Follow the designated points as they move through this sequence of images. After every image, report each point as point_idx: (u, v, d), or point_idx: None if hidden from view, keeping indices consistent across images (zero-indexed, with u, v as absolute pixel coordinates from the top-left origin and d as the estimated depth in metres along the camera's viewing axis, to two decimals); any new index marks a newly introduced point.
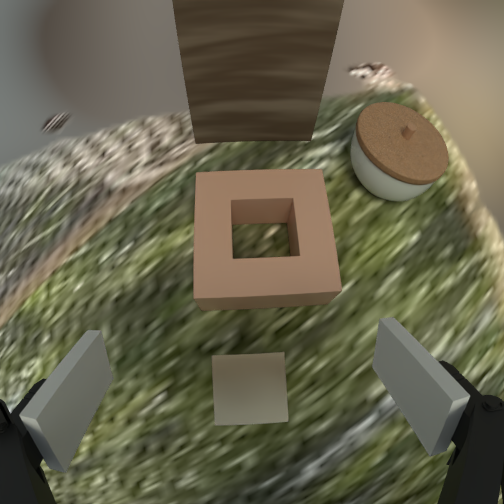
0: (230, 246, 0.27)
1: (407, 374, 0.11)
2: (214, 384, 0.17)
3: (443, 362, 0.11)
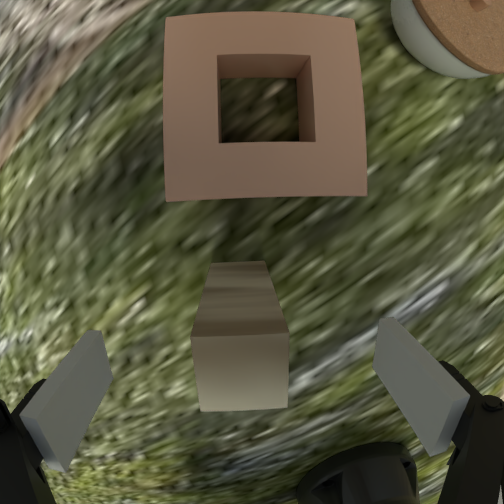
0: (215, 124, 0.18)
1: (407, 374, 0.11)
2: (196, 370, 0.13)
3: (443, 362, 0.11)
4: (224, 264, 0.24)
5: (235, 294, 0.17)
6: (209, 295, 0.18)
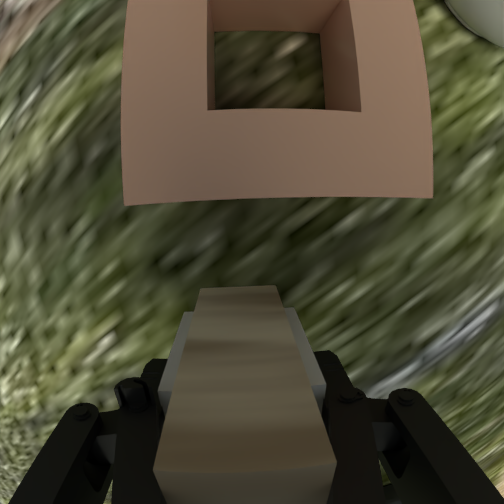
0: (203, 81, 0.10)
1: None
2: None
3: (328, 352, 0.13)
4: (219, 291, 0.17)
5: (235, 359, 0.10)
6: (192, 358, 0.10)
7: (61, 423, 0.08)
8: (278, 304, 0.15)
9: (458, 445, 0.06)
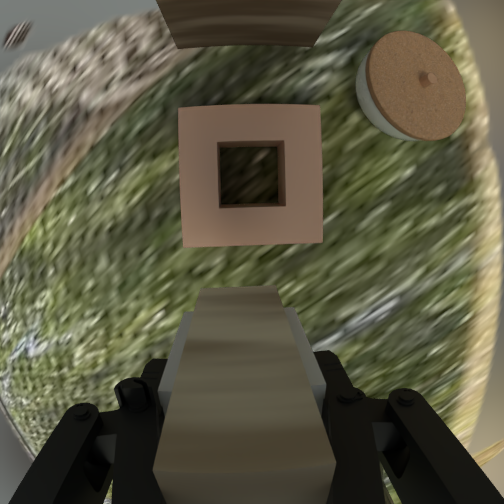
0: (216, 195, 0.27)
1: None
2: None
3: (328, 352, 0.13)
4: (219, 291, 0.17)
5: (235, 359, 0.10)
6: (192, 359, 0.10)
7: (61, 423, 0.08)
8: (278, 304, 0.15)
9: (458, 445, 0.06)
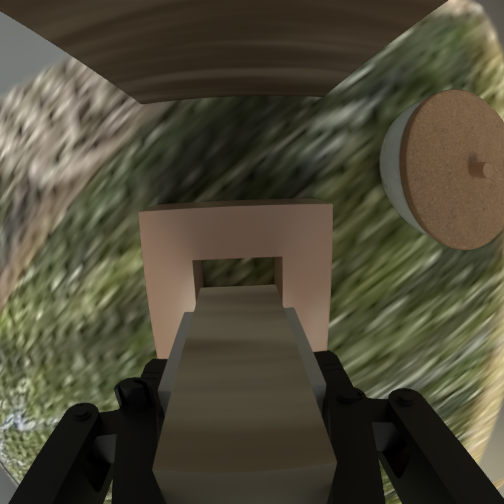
0: None
1: None
2: None
3: (328, 352, 0.13)
4: (219, 291, 0.17)
5: (234, 358, 0.10)
6: (192, 357, 0.10)
7: (61, 423, 0.08)
8: (278, 303, 0.15)
9: (458, 445, 0.06)
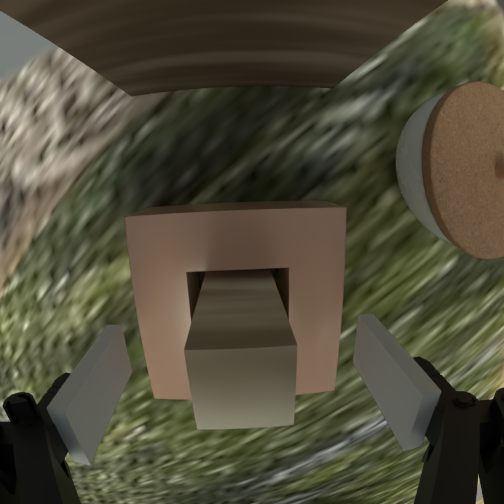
0: None
1: (382, 369, 0.12)
2: (191, 386, 0.11)
3: (420, 358, 0.11)
4: None
5: (235, 298, 0.16)
6: (206, 298, 0.16)
7: None
8: (267, 269, 0.20)
9: None
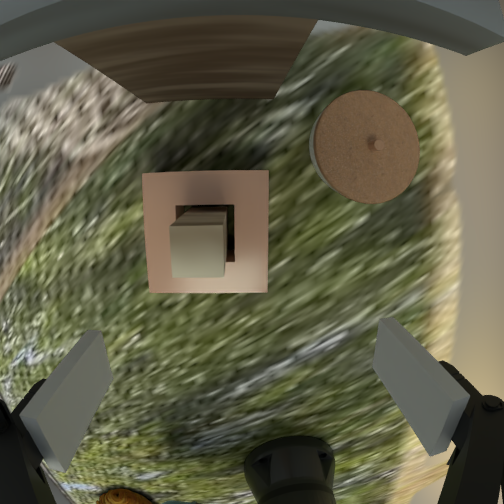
0: None
1: (407, 374, 0.11)
2: (171, 247, 0.24)
3: (443, 362, 0.11)
4: (199, 207, 0.35)
5: (200, 216, 0.28)
6: (184, 216, 0.28)
7: None
8: (224, 209, 0.33)
9: None
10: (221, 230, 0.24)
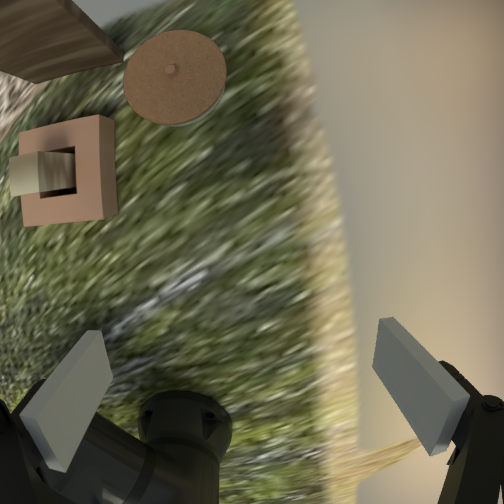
0: None
1: (407, 374, 0.11)
2: (10, 173, 0.25)
3: (443, 362, 0.11)
4: None
5: None
6: None
7: None
8: None
9: None
10: (36, 155, 0.25)
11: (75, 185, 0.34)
